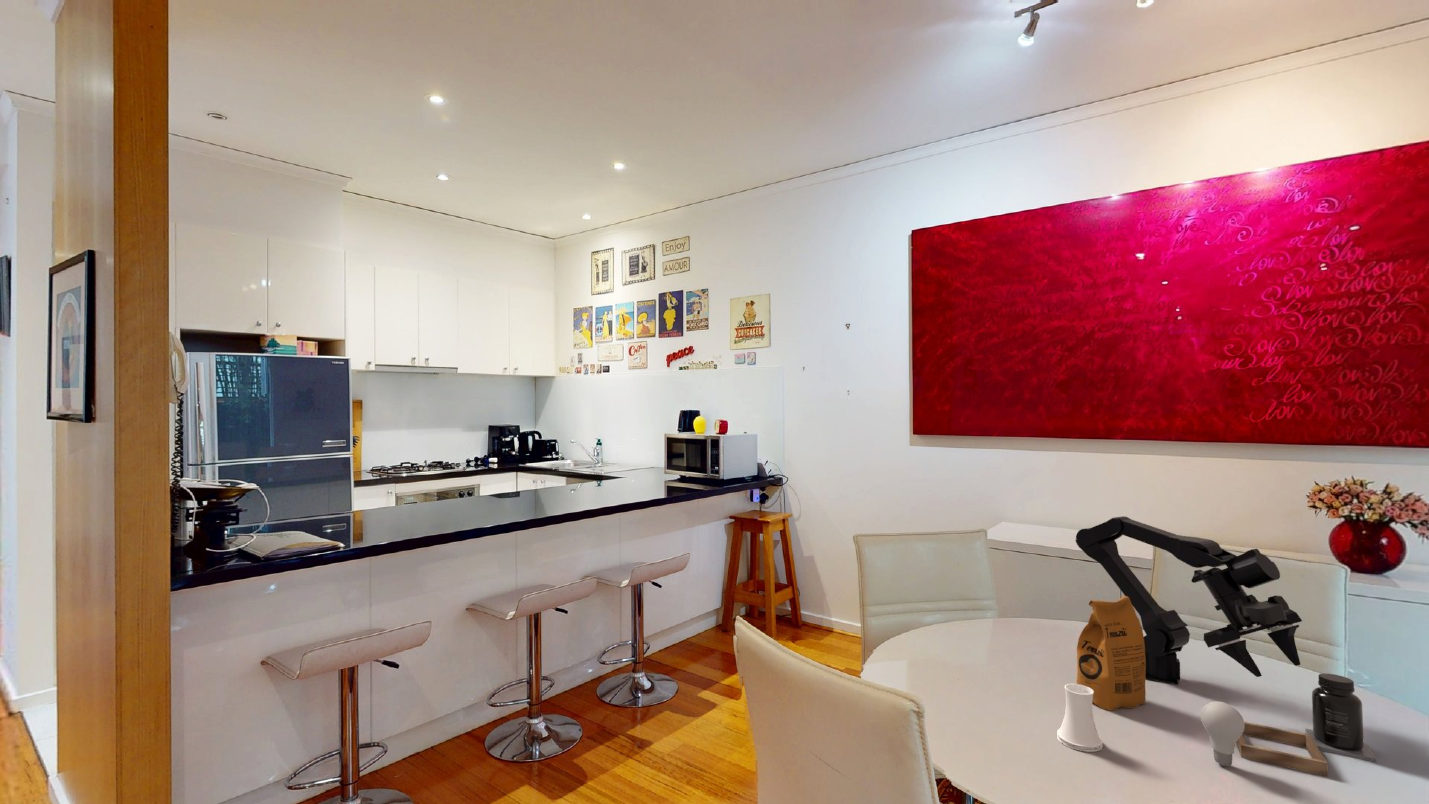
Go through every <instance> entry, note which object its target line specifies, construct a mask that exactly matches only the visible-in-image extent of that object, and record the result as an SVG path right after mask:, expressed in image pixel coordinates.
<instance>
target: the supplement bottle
mask: <svg viewBox="0 0 1429 804" xmlns="http://www.w3.org/2000/svg"><path fill="white" fill-rule="evenodd" d="M1317 685H1318V687H1315V688H1314V689H1313V690H1312V692H1311V707H1312V730H1313V734H1314V736H1315V738H1316V739H1318V740H1319V741H1321V742H1322V743H1325V744H1327V745H1330V746H1333V747H1336V748H1340V749H1345V750H1361V749H1362V748H1363V745H1364V743H1365V741H1364V718H1363V702H1362V700H1361V699H1360V698H1359V697H1358V696H1357V695H1356V694H1354V693H1355V691H1356V690H1355V682H1354V680H1352V679H1351V678H1349V677H1346V676H1343V675H1339V674H1334V673H1327V672H1326V673H1319V674H1318V681H1317Z"/></svg>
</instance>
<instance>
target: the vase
mask: <svg viewBox="0 0 1429 804" xmlns="http://www.w3.org/2000/svg"><path fill="white" fill-rule="evenodd" d="M1064 693H1065V711H1064V716H1063V720H1062V723H1061V726H1060V728H1058V729H1057V731H1056V734H1057V735H1056V738H1057V740H1058V742H1060V743H1061V744H1062V743H1063V744H1062V745H1064V746H1066V747H1068V748H1070V749H1073V750H1077V751H1080V752H1088V753H1089V752H1090V753H1094V752H1095V753H1096V752H1099V751H1102V749H1103V747H1104V745H1103V739H1102V738H1101V737H1100V735H1099V733H1098V729H1097V727H1096V723H1095V718H1094V711H1093V703H1092V701H1093V693H1094V691H1093V690H1092V689H1091V688H1089V687H1087V686H1084V685H1079V684H1077V683H1067V684H1065V685H1064Z"/></svg>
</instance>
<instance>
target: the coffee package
mask: <svg viewBox="0 0 1429 804" xmlns="http://www.w3.org/2000/svg"><path fill="white" fill-rule="evenodd" d="M1088 605H1089V607H1091V609H1092V611H1093V612H1092V613H1090V617H1089V619H1088V621H1087V624H1086V625H1085V626H1084V628H1083V629H1082V631H1081V633H1080V634H1079V637H1078V640H1077V645H1076V660H1077V662H1076V664H1077V668H1076V669H1077V671H1076V684H1079V685H1084V686H1087V687H1089V688H1091V689H1092V690H1093V691H1094V693H1093V701H1092V704H1094V705H1095V706H1097V707H1098V708H1101V709H1104V710H1106V711H1114V710H1117V709H1119V708H1126V709H1135V708H1136V707H1138V706H1139V705H1143V704H1146V694H1147V693H1146V680H1147V679H1146V673H1145V671H1146V658H1145V644H1144V636H1145V635H1144V630H1143V626H1142V624H1141V622H1140V619H1139V617H1138V616H1137V613H1136V610H1135V608H1134V607H1133V606H1132V604H1131V601H1130V599H1129V597H1127V596H1125V595H1124V596H1122V597H1121V598H1120V599H1118V600H1117V601H1104V600H1094V599H1091V600H1090V601H1089V602H1088Z"/></svg>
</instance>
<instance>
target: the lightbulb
mask: <svg viewBox="0 0 1429 804" xmlns="http://www.w3.org/2000/svg"><path fill="white" fill-rule="evenodd" d="M1200 720H1201V723H1202V725H1203V726H1204V728H1205V730H1206V731H1207V734H1208V736H1209V739H1210V742H1211V743H1210V744H1211V748H1212V751H1213V759H1214V761H1215V762H1216V763H1217V764H1219V766H1221V767H1227V766H1228V767H1229V766H1231V765H1232V764H1233V756H1234V755H1233V754H1234V753H1235V747H1236V742H1237V740H1238V739H1239V738H1240V736H1241V735H1242V736H1243V734H1242V733H1243V732H1244V728H1245V724H1244V722H1245V720H1244V717H1243V716H1242V714H1241V713H1240V711H1238V709H1236V708H1235V707H1234V706H1233V705H1230V704H1228V703H1227V702H1225V701H1224V702H1223V701H1211V702H1208V703H1206V704H1205V705H1204V706H1203V707H1202V709H1201V711H1200Z"/></svg>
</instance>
